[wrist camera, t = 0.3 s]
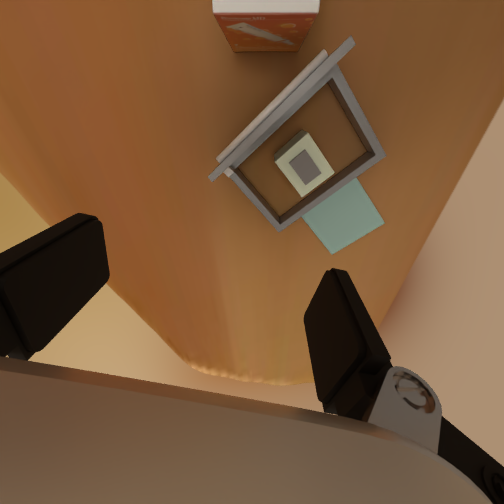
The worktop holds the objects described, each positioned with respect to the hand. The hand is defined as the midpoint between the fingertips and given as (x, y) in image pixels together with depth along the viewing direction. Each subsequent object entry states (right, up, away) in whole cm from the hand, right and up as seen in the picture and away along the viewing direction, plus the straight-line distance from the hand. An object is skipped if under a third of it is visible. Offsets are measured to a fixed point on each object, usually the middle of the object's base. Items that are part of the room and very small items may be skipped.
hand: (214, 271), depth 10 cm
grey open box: (+9, +15, +24) cm, 29 cm away
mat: (+17, +7, +29) cm, 34 cm away
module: (+9, +15, +24) cm, 30 cm away
